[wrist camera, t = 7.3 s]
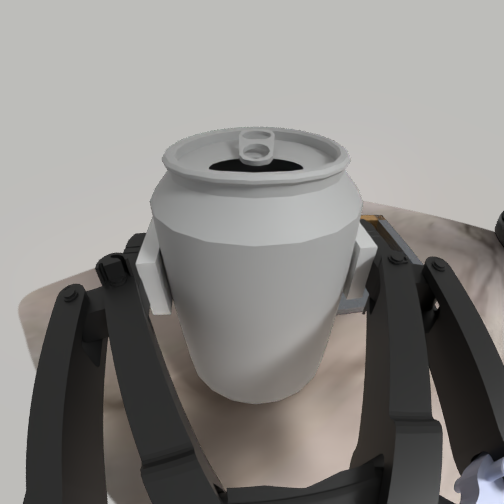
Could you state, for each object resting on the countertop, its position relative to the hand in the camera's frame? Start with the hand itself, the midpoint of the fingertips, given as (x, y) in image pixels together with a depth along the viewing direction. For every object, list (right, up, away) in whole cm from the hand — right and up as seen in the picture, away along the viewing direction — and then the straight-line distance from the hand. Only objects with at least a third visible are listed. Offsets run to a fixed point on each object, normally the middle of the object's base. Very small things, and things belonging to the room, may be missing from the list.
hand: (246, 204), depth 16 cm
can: (+1, -9, 0) cm, 9 cm away
